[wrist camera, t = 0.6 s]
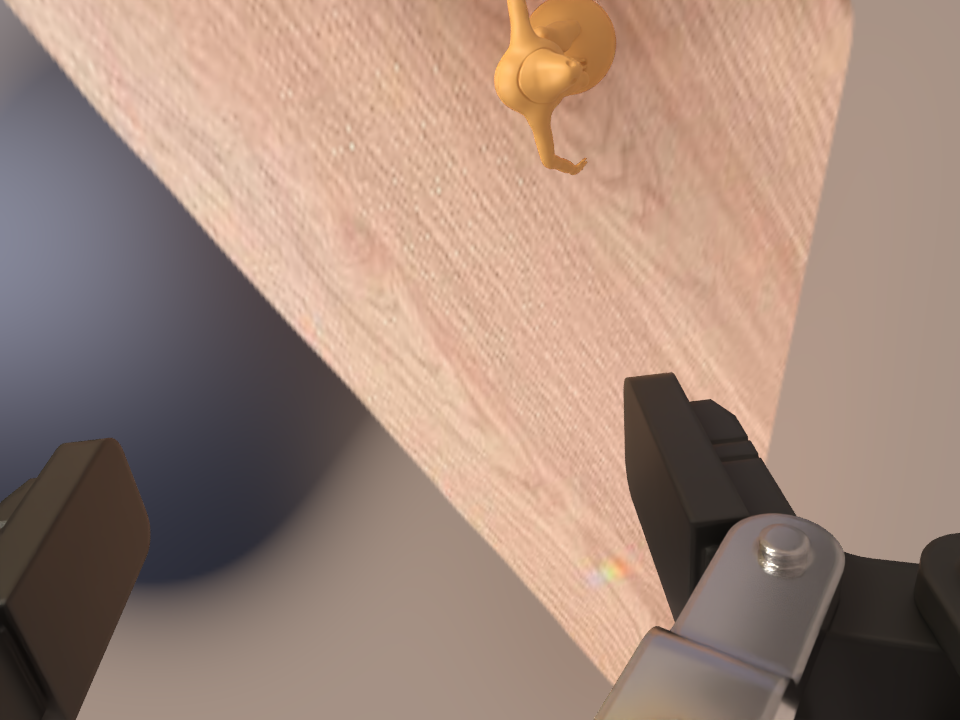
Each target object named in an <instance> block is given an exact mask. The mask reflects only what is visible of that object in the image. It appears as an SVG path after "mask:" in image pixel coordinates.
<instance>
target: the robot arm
mask: <svg viewBox="0 0 960 720" xmlns="http://www.w3.org/2000/svg"><path fill="white" fill-rule="evenodd" d="M624 430H625V463H626V473H627V480H628V485H629V490H630V494H631V497H632V501H633V503H634V506H635V509H636V512H637V515H638V518H639V521H640V523H641V526H642V529H643V532H644V535H645V538H646V541H647V544H648V546H649V549H650V552H651V555H652V558H653V561H654V564H655V566H656V569H657V572H658V575H659V578H660V581H661V584H662V586H663V589H664V592H665V595H666V598H667V601H668V604H669V606H670V609H671V612H672V615H673V618H674V621H675V624H674V626H673V627H672V628H671V630H670V631H669V630H666V629H664V628H661V627H659V626H655V627H653V628H652V629H650V630H649V631H648V633H647V634H646V635H645V636H644V638H643V639H642V641H641V642H640V644H639V646H638V647H637V649H636V651H635V652H634V654H633V656H632V657H631V659H630V660H629V662H628V664H627V665H626V667H625V669H624V670H623V672H622V674H621V675H620V677H619V678H618V680H617V682H616V683H615V685H614V687H613V688H612V690H611V692H610V693H609V695H608V697H607V698H606V700H605V701H604V703H603V705H602V707H601V708H600V710H599V712H598V713H597V715H596V716H595V718H594V720H960V533H956V534H949V535H945V536H942V537H939V538H937V539H935V540H933V541H931V542H930V543H929V544H928V545H927V546H926V547H925V548H924V550H923V551H922V554H921V558H920V563H919V564H916V563H907V562H898V561H889V560H881V559H872V558H866V557H860V556H856V555H852V554H849V553H846V552H843V549H842V547H841V545H840V543H839V542H838V541H837V540H836V538H835V537H834V536H833V535H832V534H831V533H829V532H828V531H827V530H826V529H824V528H822V527H821V526H819V525H818V524H816V523H814V522H811V521H809V520H806V519H803V518H801V517H797V516H796V514H795V513H794V511H793V510H792V508H791V506H790V505H789V503H788V501H787V500H786V498H785V496H784V495H783V493H782V492H781V490H780V488H779V487H778V485H777V483H776V482H775V480H774V478H773V477H772V475H771V474H770V472H769V470H768V469H767V467H766V465H765V464H764V462H763V460H762V459H761V458H759V457H758V452H757V451H756V449H755V447H754V446H753V444H752V442H751V441H748V436H747V434H746V433H745V431H744V429H743V428H742V426H741V424H740V423H739V421H738V420H737V418H736V416H735V415H733V414H732V413H730V412H729V411H727V410H726V409H724V408H723V407H722V406H720V405H719V404H717V403H716V402H714V401H713V400H711V399H709V400H700V401H692V402H689V400H688V398H687V397H686V395H685V393H684V391H683V389H682V387H681V385H680V384H679V382H678V380H677V378H676V376H675V375H674V373H672V372H670V373H662V374H653V375H645V376H636V377H628V378H625V381H624ZM149 545H150V524H149V519H148V515H147V512H146V509H145V507H144V504H143V501H142V499H141V496H140V494H139V491H138V488H137V486H136V483H135V481H134V478H133V475H132V473H131V470H130V467H129V465H128V462H127V459H126V457H125V454H124V452H123V449H122V447H121V446H120V444H119V443H118V441H116V440H115V439H113V438H105V439H96V440H88V441H79V442H71V443H64V444H62V445H60V446H59V447H58V448H57V449H56V451H55V452H54V454H53V455H52V456H51V458H50V459H49V461H48V462H47V464H46V465H45V467H44V468H43V470H42V471H41V473H40V474H39V475H38V477H37V478H33V479H29V480H28V481H27V482H26V483H24V484H23V485H22V486H21V487H19V488H18V489H17V490H15V491H14V492H13V493H12V494H10V495H9V496H8V497H7V498H5V499H4V500H3V501H2V502H1V503H0V720H76V718H77V715H78V713H79V711H80V708H81V706H82V704H83V701H84V699H85V697H86V695H87V692H88V690H89V688H90V685H91V683H92V681H93V678H94V676H95V674H96V671H97V669H98V667H99V665H100V662H101V660H102V658H103V655H104V653H105V651H106V649H107V646H108V644H109V641H110V639H111V637H112V635H113V632H114V630H115V628H116V625H117V623H118V621H119V619H120V616H121V614H122V611H123V609H124V607H125V605H126V602H127V600H128V598H129V595H130V593H131V591H132V589H133V586H134V584H135V582H136V579H137V577H138V575H139V572H140V570H141V568H142V566H143V563H144V561H145V559H146V556H147V554H148V550H149Z"/></svg>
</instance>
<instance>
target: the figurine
mask: <svg viewBox="0 0 960 720" xmlns="http://www.w3.org/2000/svg"><path fill="white" fill-rule="evenodd" d="M507 4H508V11H509V18H510V23H511V40H510V46H509V48H508V50H507V51H506V53H505V54H504V55H503V57H502V58H501V61H500V62H499V63H498V65H497V68H496V71H495V77H494V84H495V89H496V92H497V94H498V96H499V98H500V99H501V101H502V102H503V103H504V104H505V105H506V106H507V107H509V108H511V109H512V110H514V111H516V112H519V113H521V114H522V115H523V116H525V118H526V119H527V121H528V123H529V125H530V127H531V128H532V130H533V133H534V138H535V142H536V145H537V149H538V152H539V155H540V158H541V161H542V163H543V165H544V166H545V167H546V168H549V169H556V170H559V171H561V172H564V173H570V174H571V175H576V174H577V173H579V172H580V171H581V170H583V167H584V166H585V165H586V164H587V161H586V159H587V158H584V159H583V160H582V161H581V162H579V163H578V164H577V165H574V164H573V163H572V162H570V161H569V160H567V159H564V158H560V157H559V156H557V155H555V153H554V143H553V136H552V131H551V126H550V121H551V115H552V112H553V110H554V109H555V107H556V106H557V105H558V104H559V103H560V102H561V100H562V99H563V97H566V96H569V95H575V94H579V93H582V92H585V91H587V90H589V89H591V88H592V87H594V86H595V85H596V84H598V83H599V82H600V81H601V80H602V79H603V77H604V76H605V75H606V73H607V72H608V70H609V68H610V66H611V64H612V62H613V59H614V55H615V49H616V37H615V31H614V27H613V25H612V22H611V20H610V18H609V16H608V15H607V13H606V12H605V11H604V10H603V8H602V7H601V6H599V5H598V4H597V3H596V2H594V1H592V0H548V1H546V2H544V3H543V4H542V5H540V6H539V7H538V8H537V9H536V10H535V11H534V12H533V14H532V15H531V16H530V18H529V15H528V9H527V5H526V1H525V0H507ZM585 161H586V162H585Z"/></svg>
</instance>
